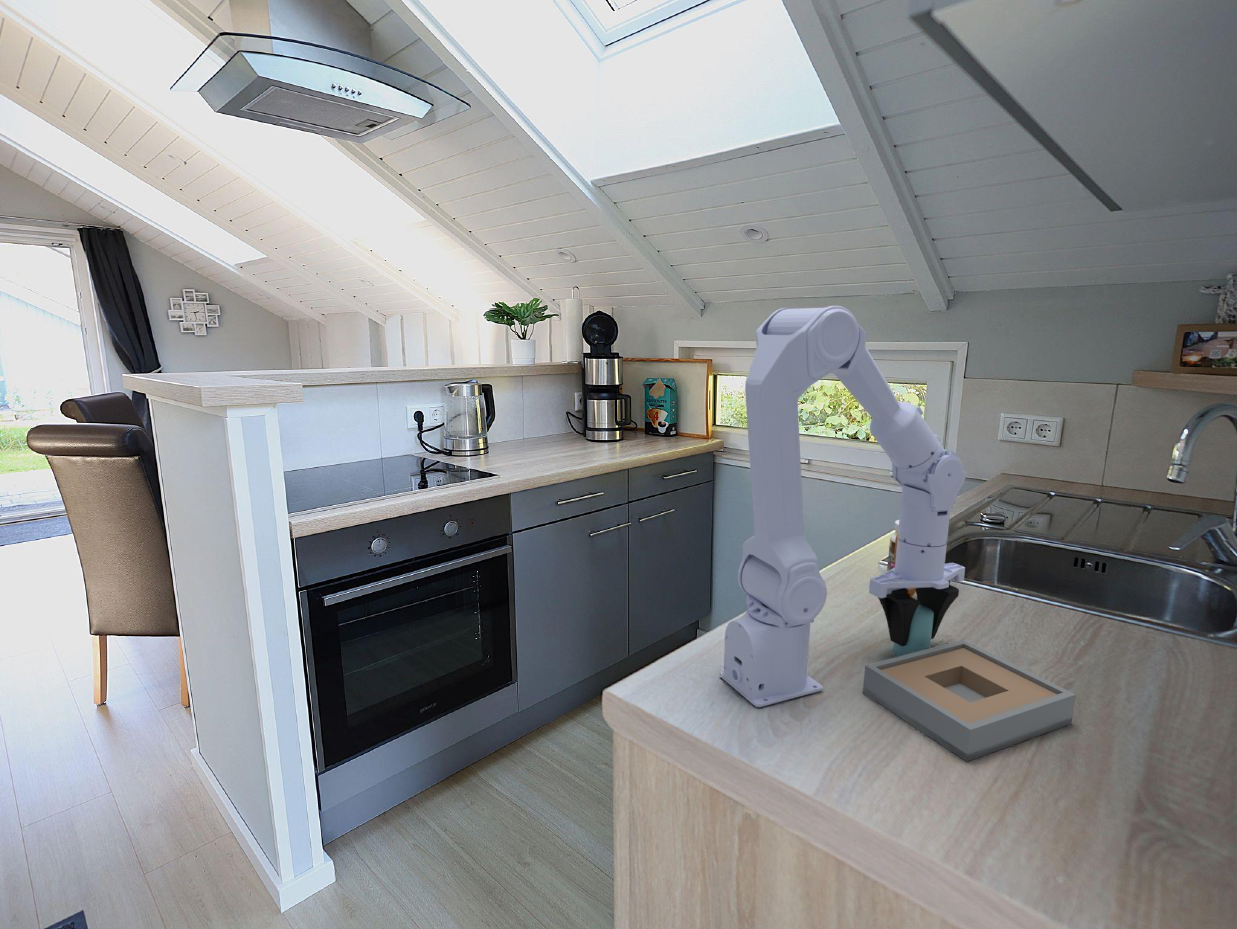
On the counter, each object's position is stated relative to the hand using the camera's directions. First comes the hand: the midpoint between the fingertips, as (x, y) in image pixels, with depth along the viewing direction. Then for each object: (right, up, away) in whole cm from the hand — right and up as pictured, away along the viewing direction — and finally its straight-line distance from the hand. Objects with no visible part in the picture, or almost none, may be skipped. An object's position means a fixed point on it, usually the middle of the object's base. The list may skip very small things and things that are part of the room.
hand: (912, 639), depth 88 cm
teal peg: (0, -2, 0) cm, 2 cm away
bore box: (0, -5, -12) cm, 13 cm away
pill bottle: (+10, +3, +26) cm, 28 cm away
